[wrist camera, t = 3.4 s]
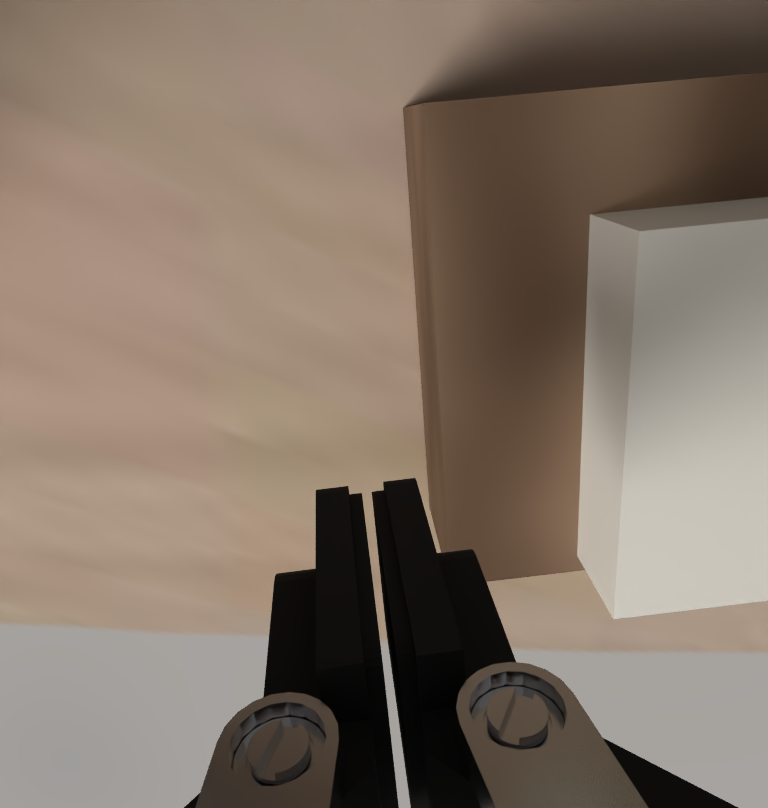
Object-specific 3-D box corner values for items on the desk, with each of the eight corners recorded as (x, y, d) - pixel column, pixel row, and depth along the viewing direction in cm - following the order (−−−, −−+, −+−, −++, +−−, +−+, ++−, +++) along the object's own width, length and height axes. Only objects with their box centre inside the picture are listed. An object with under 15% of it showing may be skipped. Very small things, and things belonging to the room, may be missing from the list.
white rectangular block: (856, 188, 15) (954, 199, 12) (792, 530, 18) (859, 589, 16) (589, 214, 14) (639, 231, 12) (577, 555, 18) (613, 619, 16)
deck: (1002, 53, 18) (1180, 34, 14) (901, 454, 22) (1014, 519, 19) (403, 107, 17) (423, 103, 13) (429, 507, 22) (450, 586, 18)
